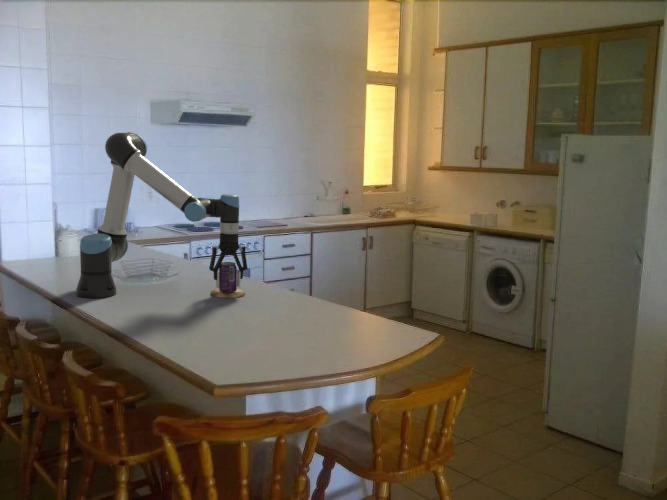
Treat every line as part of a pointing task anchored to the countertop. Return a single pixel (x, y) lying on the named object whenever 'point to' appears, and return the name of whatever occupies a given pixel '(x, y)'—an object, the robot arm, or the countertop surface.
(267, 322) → the countertop surface
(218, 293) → the coaster
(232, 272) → the beverage can
